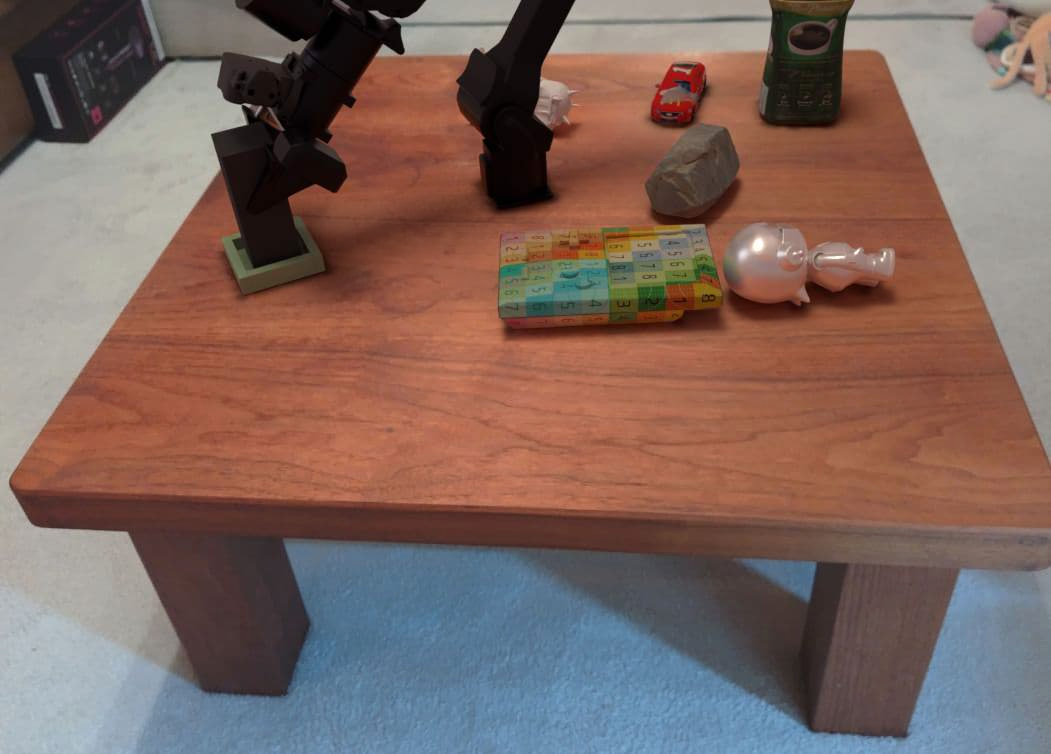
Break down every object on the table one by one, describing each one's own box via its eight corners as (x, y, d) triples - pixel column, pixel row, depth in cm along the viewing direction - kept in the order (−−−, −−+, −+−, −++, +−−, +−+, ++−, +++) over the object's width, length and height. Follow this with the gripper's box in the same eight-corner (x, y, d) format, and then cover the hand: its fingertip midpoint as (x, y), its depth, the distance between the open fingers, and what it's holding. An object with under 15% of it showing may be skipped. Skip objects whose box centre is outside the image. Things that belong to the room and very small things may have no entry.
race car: (689, 131, 120) (691, 100, 118) (645, 126, 122) (645, 95, 119) (711, 83, 129) (713, 53, 127) (670, 79, 131) (671, 49, 128)
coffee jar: (835, 98, 124) (859, -58, 112) (841, 128, 118) (867, -33, 106) (755, 97, 126) (771, -57, 114) (757, 126, 120) (773, -32, 108)
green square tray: (303, 231, 108) (299, 215, 107) (325, 270, 102) (322, 254, 101) (225, 253, 106) (220, 237, 104) (243, 295, 100) (238, 279, 98)
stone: (678, 165, 114) (681, 100, 109) (746, 178, 111) (753, 113, 106) (634, 219, 106) (635, 152, 101) (707, 235, 103) (711, 167, 98)
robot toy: (434, 111, 119) (542, 137, 113) (449, 35, 116) (559, 57, 111) (494, 123, 132) (593, 147, 126) (509, 55, 130) (610, 76, 124)
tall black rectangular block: (290, 232, 106) (261, 120, 97) (303, 257, 102) (274, 143, 94) (243, 245, 104) (210, 133, 96) (254, 271, 101) (221, 157, 92)
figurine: (911, 223, 88) (746, 204, 87) (906, 306, 88) (740, 289, 86) (859, 246, 99) (711, 230, 97) (855, 321, 98) (705, 306, 97)
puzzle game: (499, 226, 98) (705, 215, 97) (503, 266, 101) (702, 256, 100) (497, 298, 89) (723, 287, 88) (501, 339, 92) (720, 329, 91)
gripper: (233, -12, 96) (152, 123, 100) (283, 57, 83) (187, 209, 87) (328, 49, 103) (249, 173, 107) (388, 121, 90) (295, 259, 94)
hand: (244, 200), depth 99 cm, fingers closed on tall black rectangular block, 5 cm apart
